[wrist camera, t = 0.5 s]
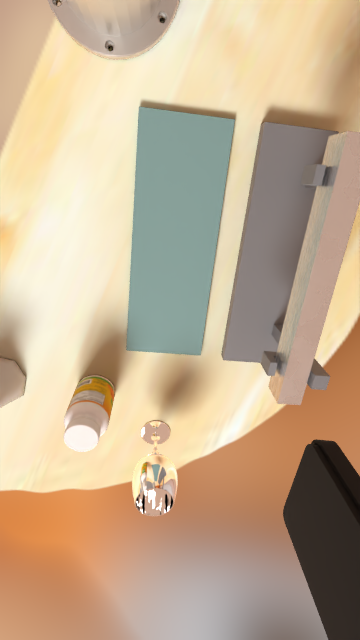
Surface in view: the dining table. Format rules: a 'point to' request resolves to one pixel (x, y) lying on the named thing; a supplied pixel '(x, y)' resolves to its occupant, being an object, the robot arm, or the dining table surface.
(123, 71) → the dining table surface
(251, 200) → the rail stand
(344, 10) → the dining table surface
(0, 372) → the flask
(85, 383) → the supplement bottle
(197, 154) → the teal mat
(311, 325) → the steel rail
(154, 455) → the wineglass
